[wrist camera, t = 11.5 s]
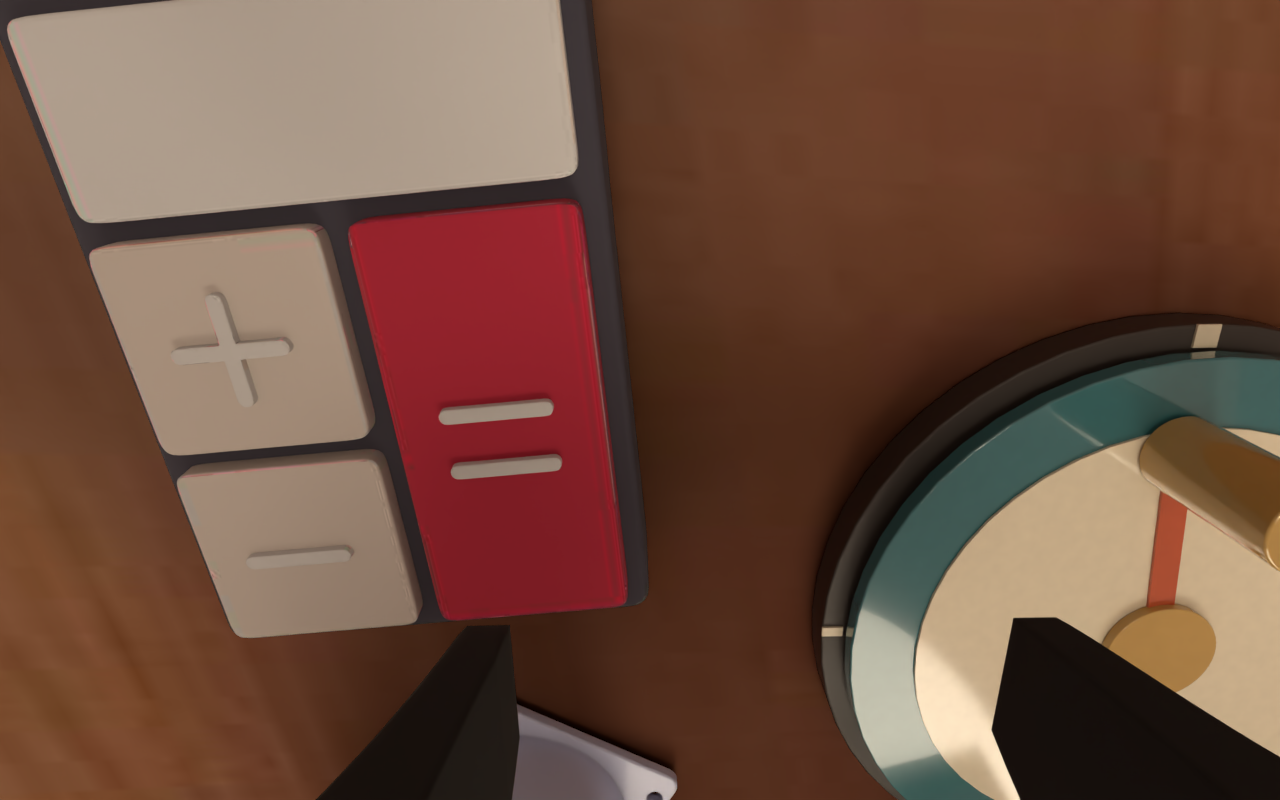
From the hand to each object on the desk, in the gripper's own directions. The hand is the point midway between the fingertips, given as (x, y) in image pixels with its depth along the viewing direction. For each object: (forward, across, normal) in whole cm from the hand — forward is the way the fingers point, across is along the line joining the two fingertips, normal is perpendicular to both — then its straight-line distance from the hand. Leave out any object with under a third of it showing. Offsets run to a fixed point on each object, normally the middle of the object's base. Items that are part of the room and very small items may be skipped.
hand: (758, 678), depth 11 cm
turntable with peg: (+9, -13, +6) cm, 17 cm away
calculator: (+11, +8, -3) cm, 13 cm away
